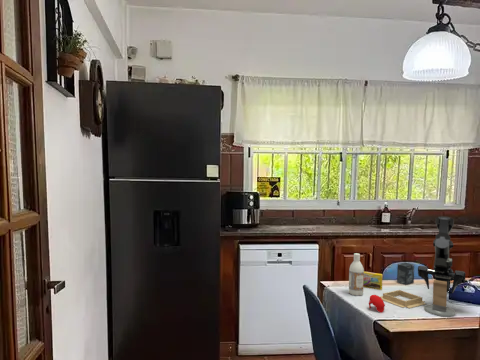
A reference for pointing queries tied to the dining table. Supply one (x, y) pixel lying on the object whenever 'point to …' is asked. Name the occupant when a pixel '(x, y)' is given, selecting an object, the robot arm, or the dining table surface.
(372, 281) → the candy box
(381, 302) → the red rounded piece
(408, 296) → the wooden square frame
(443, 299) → the walnut box
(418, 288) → the dining table surface
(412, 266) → the box
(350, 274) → the bath foam
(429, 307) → the plate
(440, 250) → the robot arm
